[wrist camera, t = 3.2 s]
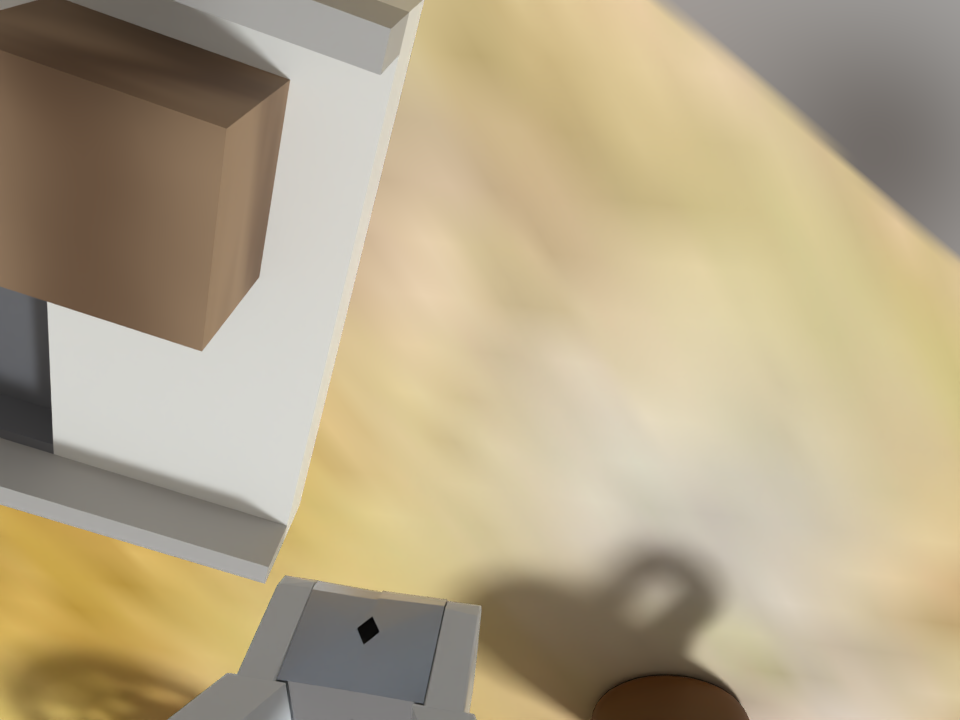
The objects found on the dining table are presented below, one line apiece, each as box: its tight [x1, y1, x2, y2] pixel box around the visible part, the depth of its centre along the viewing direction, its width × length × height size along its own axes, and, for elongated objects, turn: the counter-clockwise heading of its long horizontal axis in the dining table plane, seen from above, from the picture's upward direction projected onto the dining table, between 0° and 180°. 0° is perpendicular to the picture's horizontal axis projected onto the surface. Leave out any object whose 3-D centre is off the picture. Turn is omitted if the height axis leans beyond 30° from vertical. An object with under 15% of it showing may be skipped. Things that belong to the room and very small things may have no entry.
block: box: [0, 0, 290, 351], centre depth 18 cm, size 6×6×4 cm
